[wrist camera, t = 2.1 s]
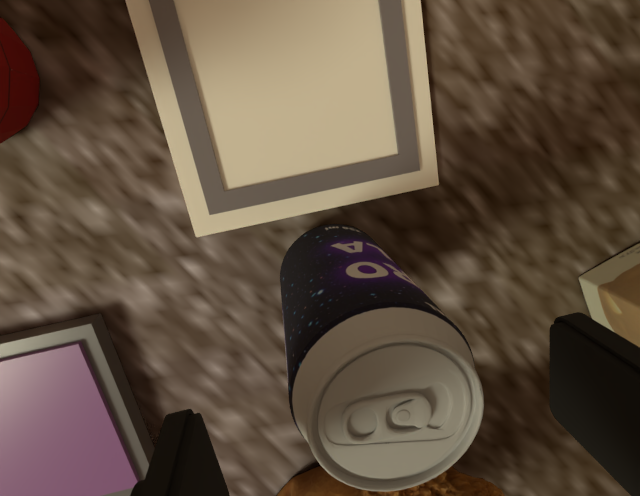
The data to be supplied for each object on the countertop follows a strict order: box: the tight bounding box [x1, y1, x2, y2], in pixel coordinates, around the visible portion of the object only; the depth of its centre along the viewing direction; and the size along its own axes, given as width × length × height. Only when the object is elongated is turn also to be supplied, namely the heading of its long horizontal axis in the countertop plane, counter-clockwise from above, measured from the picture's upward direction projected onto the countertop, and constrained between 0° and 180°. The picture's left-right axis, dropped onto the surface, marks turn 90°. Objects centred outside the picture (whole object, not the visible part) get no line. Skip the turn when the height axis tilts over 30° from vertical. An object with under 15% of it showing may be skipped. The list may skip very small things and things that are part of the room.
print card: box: [125, 0, 439, 237], centre depth 19 cm, size 13×13×1 cm
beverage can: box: [280, 224, 484, 492], centre depth 16 cm, size 6×6×12 cm
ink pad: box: [0, 313, 155, 496], centre depth 22 cm, size 11×11×2 cm
